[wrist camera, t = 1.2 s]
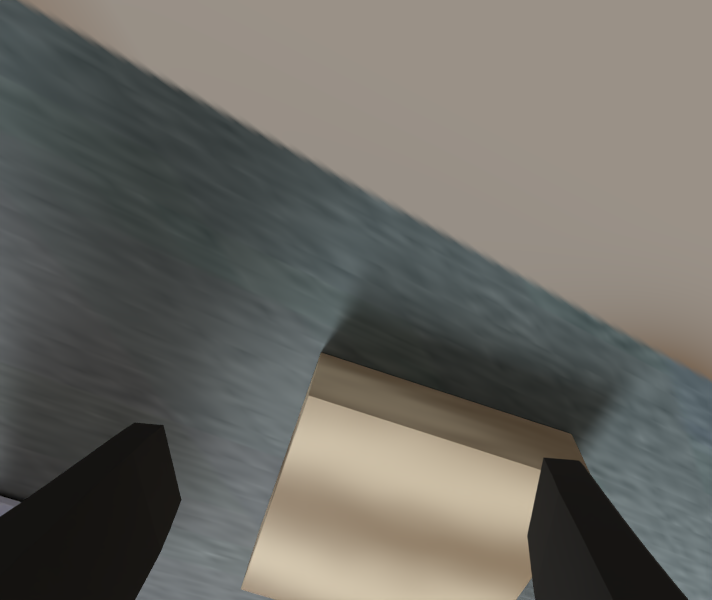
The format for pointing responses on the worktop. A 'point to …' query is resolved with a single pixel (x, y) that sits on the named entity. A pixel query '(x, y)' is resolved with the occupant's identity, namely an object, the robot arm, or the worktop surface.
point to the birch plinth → (400, 494)
